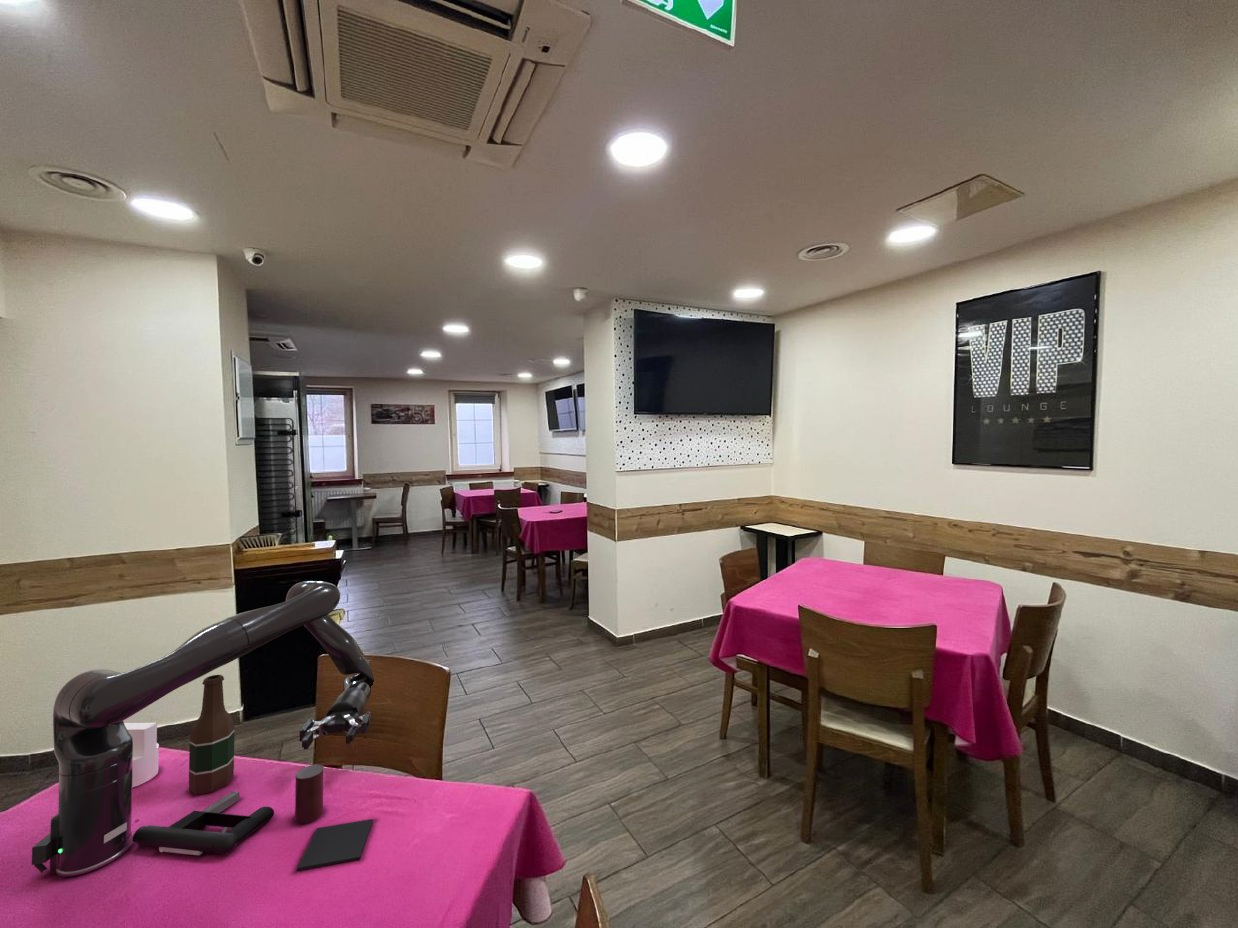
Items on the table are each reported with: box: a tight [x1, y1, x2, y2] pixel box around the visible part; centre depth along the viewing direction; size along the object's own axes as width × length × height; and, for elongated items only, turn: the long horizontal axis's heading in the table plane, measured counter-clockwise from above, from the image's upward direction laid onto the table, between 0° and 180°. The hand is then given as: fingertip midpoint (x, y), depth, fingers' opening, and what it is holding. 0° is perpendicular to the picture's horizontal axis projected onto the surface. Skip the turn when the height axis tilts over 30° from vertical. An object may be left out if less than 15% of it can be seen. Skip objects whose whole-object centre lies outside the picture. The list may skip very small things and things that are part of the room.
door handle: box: [132, 790, 275, 856], centre depth 96 cm, size 3×20×16 cm
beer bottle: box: [188, 674, 235, 796], centre depth 109 cm, size 8×8×24 cm
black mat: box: [296, 818, 374, 871], centre depth 91 cm, size 10×10×1 cm
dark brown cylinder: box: [294, 763, 324, 825], centre depth 99 cm, size 5×5×9 cm
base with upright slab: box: [124, 722, 160, 789], centre depth 111 cm, size 9×9×12 cm
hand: (326, 742), depth 109 cm, fingers open, 8 cm apart
